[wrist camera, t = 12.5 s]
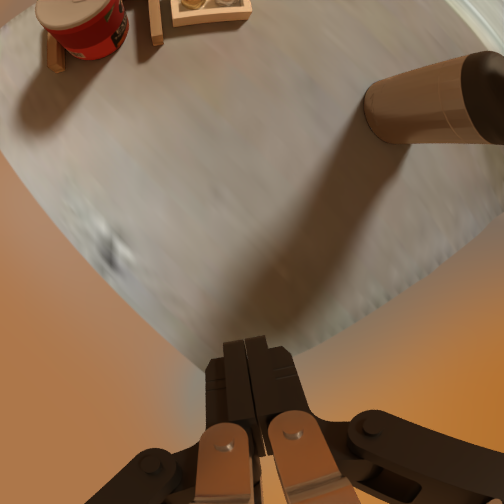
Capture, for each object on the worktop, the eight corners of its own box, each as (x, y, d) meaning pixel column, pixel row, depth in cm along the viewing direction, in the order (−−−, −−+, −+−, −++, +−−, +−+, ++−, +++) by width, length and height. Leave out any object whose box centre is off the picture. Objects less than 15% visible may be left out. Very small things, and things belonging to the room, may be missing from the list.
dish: (241, -14, 29) (245, -23, 26) (248, 19, 30) (252, 11, 28) (169, -8, 27) (169, -17, 25) (173, 27, 29) (172, 18, 27)
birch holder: (158, -14, 27) (157, -26, 24) (163, 44, 29) (162, 34, 26) (56, 14, 24) (49, 5, 22) (56, 73, 27) (47, 67, 24)
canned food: (133, 51, 29) (116, 9, 18) (70, 71, 28) (33, 41, 17) (127, 2, 26) (113, -46, 16) (67, 22, 25) (36, -17, 15)
